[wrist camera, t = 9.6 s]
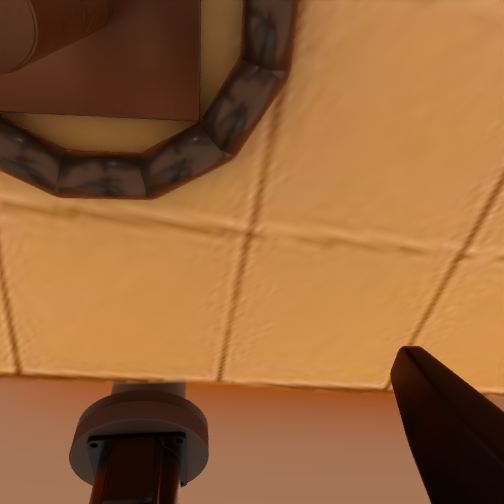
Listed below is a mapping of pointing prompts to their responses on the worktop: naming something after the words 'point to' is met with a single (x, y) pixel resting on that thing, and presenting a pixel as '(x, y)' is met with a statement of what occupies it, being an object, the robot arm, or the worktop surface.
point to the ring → (180, 145)
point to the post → (101, 58)
